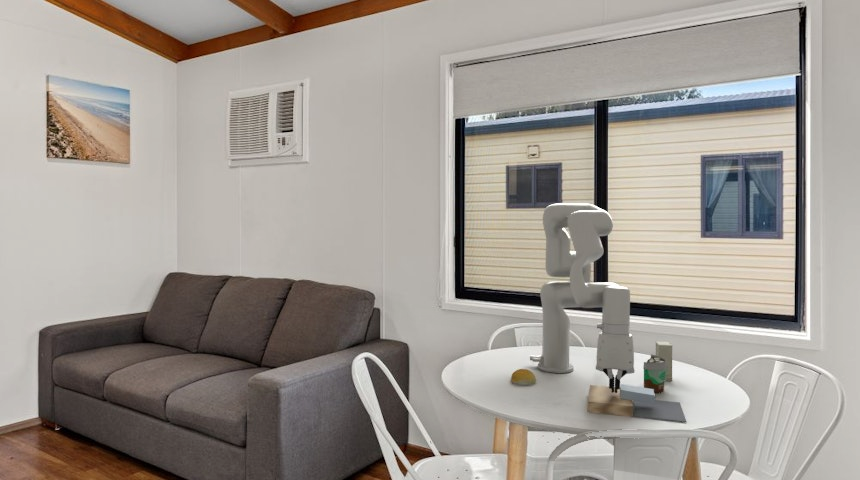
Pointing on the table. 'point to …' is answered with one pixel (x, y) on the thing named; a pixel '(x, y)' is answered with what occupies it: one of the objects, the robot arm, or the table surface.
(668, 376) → the skincare box
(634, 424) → the table surface
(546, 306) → the robot arm
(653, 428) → the table surface
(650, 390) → the tile
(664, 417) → the mat
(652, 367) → the food container
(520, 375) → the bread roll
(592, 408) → the wooden block
